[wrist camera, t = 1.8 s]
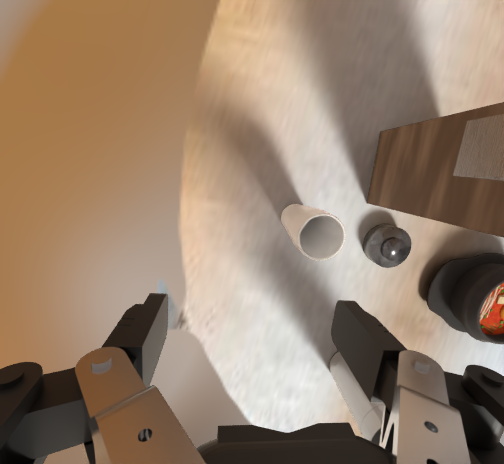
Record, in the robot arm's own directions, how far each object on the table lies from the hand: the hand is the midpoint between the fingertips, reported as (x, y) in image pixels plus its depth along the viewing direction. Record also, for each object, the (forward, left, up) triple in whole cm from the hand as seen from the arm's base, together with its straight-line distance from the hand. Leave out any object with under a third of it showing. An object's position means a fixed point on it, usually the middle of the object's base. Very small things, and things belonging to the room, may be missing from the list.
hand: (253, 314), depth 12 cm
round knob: (-27, -15, -37) cm, 48 cm away
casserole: (-51, -23, -37) cm, 67 cm away
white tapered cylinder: (-10, -6, -37) cm, 39 cm away
